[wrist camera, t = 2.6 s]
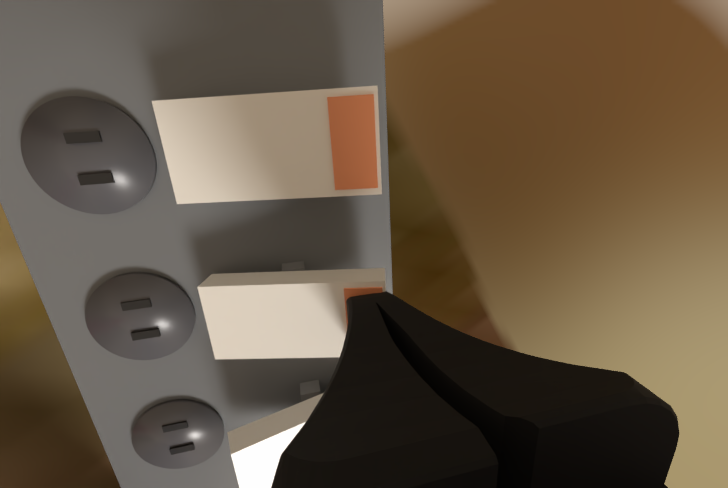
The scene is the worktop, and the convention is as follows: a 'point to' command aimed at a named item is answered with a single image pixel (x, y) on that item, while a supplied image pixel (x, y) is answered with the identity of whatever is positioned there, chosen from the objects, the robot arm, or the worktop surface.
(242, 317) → the middle rocker
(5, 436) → the worktop surface
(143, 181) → the power strip
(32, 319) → the worktop surface
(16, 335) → the worktop surface
